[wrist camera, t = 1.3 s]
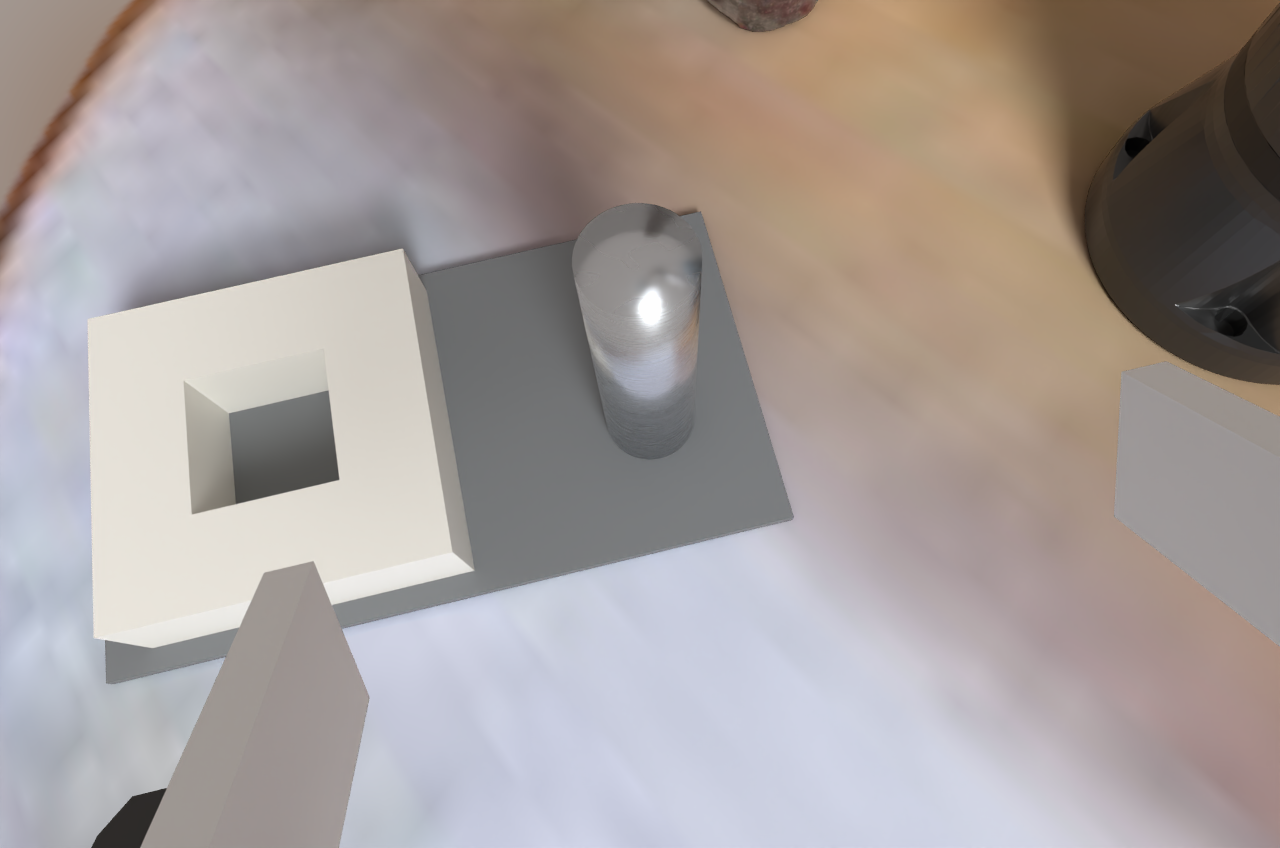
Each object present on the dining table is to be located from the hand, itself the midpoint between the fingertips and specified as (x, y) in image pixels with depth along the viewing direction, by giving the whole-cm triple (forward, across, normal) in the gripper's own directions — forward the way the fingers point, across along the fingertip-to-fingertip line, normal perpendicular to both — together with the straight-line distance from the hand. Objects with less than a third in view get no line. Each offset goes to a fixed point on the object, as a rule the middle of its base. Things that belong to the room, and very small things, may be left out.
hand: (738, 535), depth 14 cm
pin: (+24, +1, -9) cm, 26 cm away
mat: (+26, -9, -8) cm, 29 cm away
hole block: (+26, -15, -8) cm, 31 cm away
